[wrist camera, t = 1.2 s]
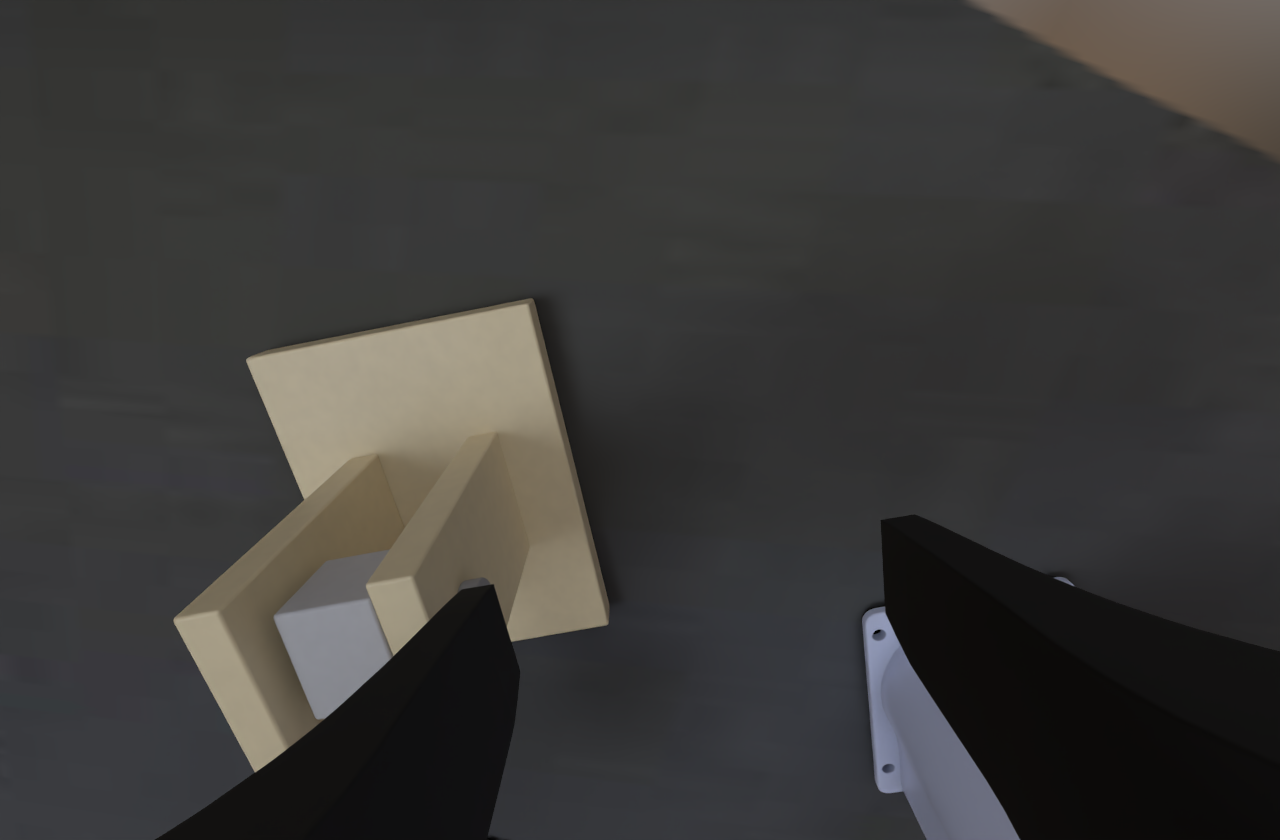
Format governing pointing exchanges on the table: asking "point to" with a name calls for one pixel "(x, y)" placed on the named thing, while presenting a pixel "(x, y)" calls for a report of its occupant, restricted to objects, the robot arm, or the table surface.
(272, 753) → the beige mounting bracket
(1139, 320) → the table surface
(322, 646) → the lever
